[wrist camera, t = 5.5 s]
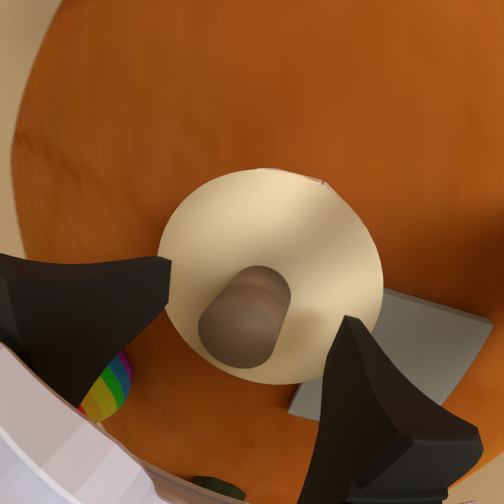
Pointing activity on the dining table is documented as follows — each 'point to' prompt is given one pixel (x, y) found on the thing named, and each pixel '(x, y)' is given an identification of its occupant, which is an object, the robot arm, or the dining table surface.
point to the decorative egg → (108, 390)
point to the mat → (415, 348)
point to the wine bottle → (219, 487)
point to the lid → (268, 274)
